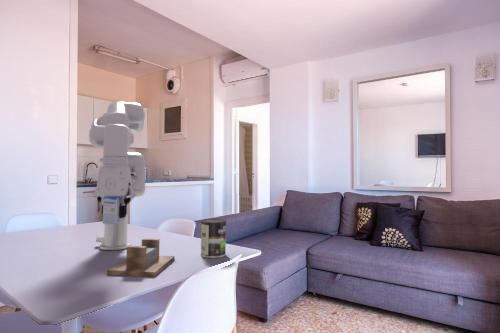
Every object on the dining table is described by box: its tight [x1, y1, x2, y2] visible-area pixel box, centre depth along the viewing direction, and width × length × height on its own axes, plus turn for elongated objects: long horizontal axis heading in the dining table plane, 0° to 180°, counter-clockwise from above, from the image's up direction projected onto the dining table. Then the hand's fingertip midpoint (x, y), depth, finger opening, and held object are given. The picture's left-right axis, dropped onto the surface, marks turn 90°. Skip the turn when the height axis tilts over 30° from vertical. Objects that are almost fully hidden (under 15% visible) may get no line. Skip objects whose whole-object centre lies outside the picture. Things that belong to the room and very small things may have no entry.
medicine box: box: [102, 196, 124, 225], centre depth 107 cm, size 8×4×9 cm, turn 3°
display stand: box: [106, 238, 176, 278], centre depth 115 cm, size 16×20×8 cm
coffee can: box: [200, 218, 227, 259], centre depth 133 cm, size 10×10×14 cm
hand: (114, 216), depth 107 cm, fingers closed on medicine box, 5 cm apart
